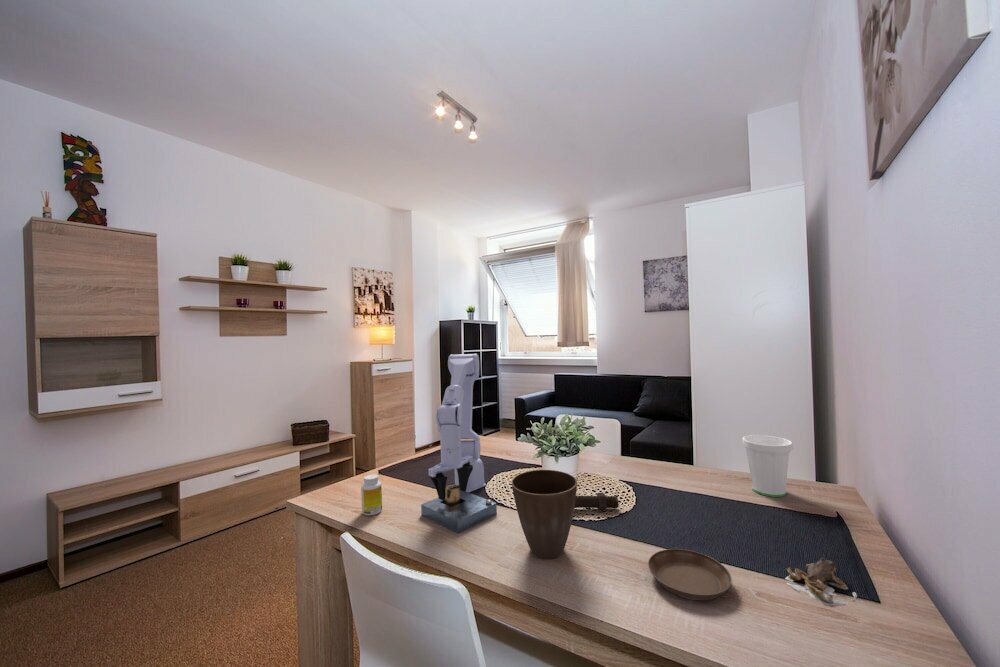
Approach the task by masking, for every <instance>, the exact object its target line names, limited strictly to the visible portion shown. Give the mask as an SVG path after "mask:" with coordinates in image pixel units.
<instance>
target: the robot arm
mask: <svg viewBox="0 0 1000 667" xmlns="http://www.w3.org/2000/svg"><path fill="white" fill-rule="evenodd" d="M447 359H448V360H447V367H448V370H449V373H450V375H451V378H450V385H449V386H448V385H447V387H446V388H445V391H444V395H443V399H442V403H441V405H440V406H438V408H437V409H436V424H437V430H438V433H439V440H440V442H439V443H440V462H439V463H438V464H436V465H433V467H430V468H428V476H429V479H430V480H431V481H432V484H433V485H434V487H435V490H436V493H437V496H438V497H439V499H441V500H445V497H446V491H445V488H446V486H447V480H448V477H447V476H445V475H444V473H447V472H449V471H451V470H454V485H458V486H459V489H460V490H461V491H464V492H465V491H466V492H468V493H471V492H473V491H476V490H479V489H481V488H483V487H485V486H487V484H486V483H485V472H484V471H485V468H484V462H483V461H482V459H481V458H480V457H481V449H482V448H481V438H480V436H479V434H478V433H476V432H475V431H474V430H473V428H472V427H473V401H474V400H473V399H474V398H473V397H474V396H473V395H474V394H473V393H474V392H473V389H474V383H475V381H477V380H478V379H479V376H480V356H479V354H478V353H467V354H466V353H463V354H453V353H451V354H450V355H448V358H447ZM438 497H437V498H438Z"/></svg>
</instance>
